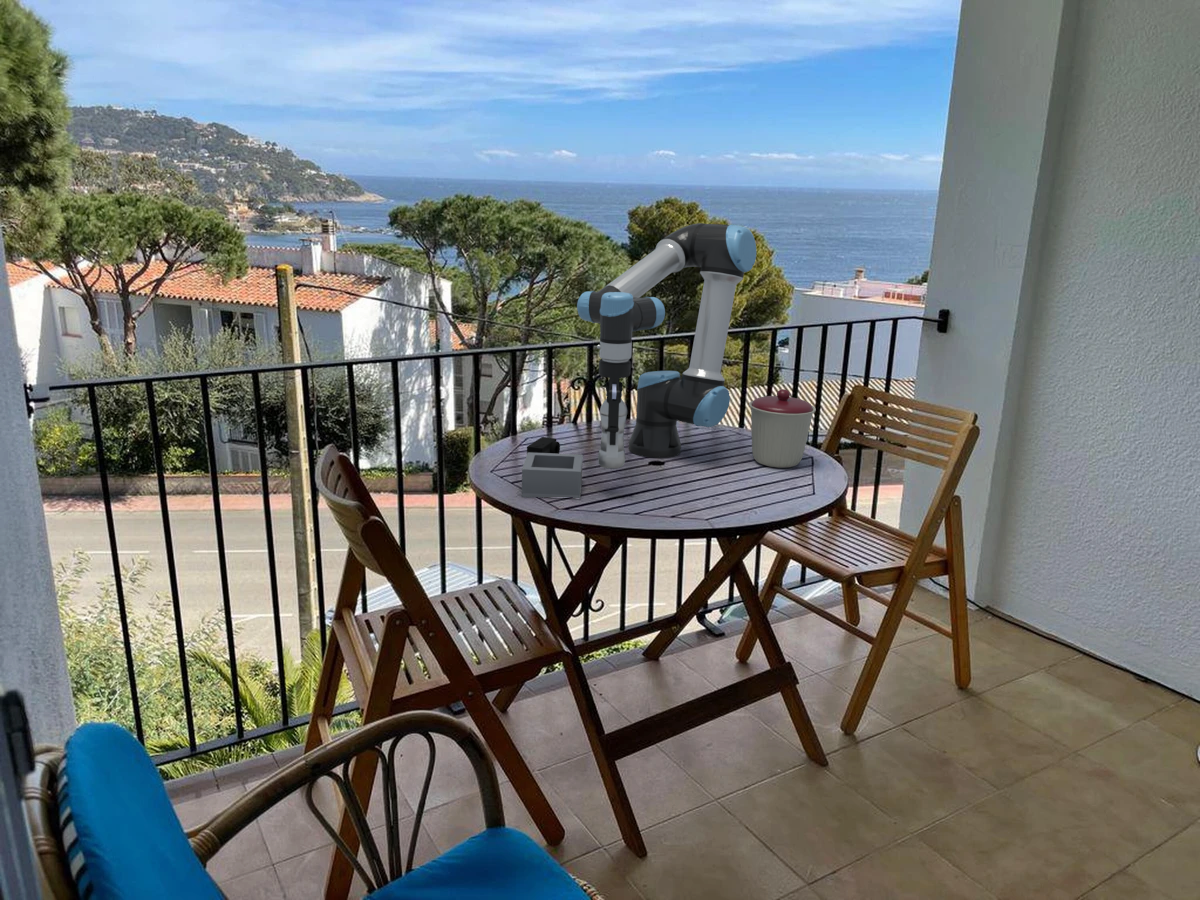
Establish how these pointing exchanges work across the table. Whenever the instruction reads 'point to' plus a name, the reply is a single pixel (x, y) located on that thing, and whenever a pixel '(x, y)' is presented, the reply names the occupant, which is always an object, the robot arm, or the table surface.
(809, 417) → the canister
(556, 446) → the digital camera
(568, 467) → the well
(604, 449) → the plastic bottle
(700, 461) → the table surface
